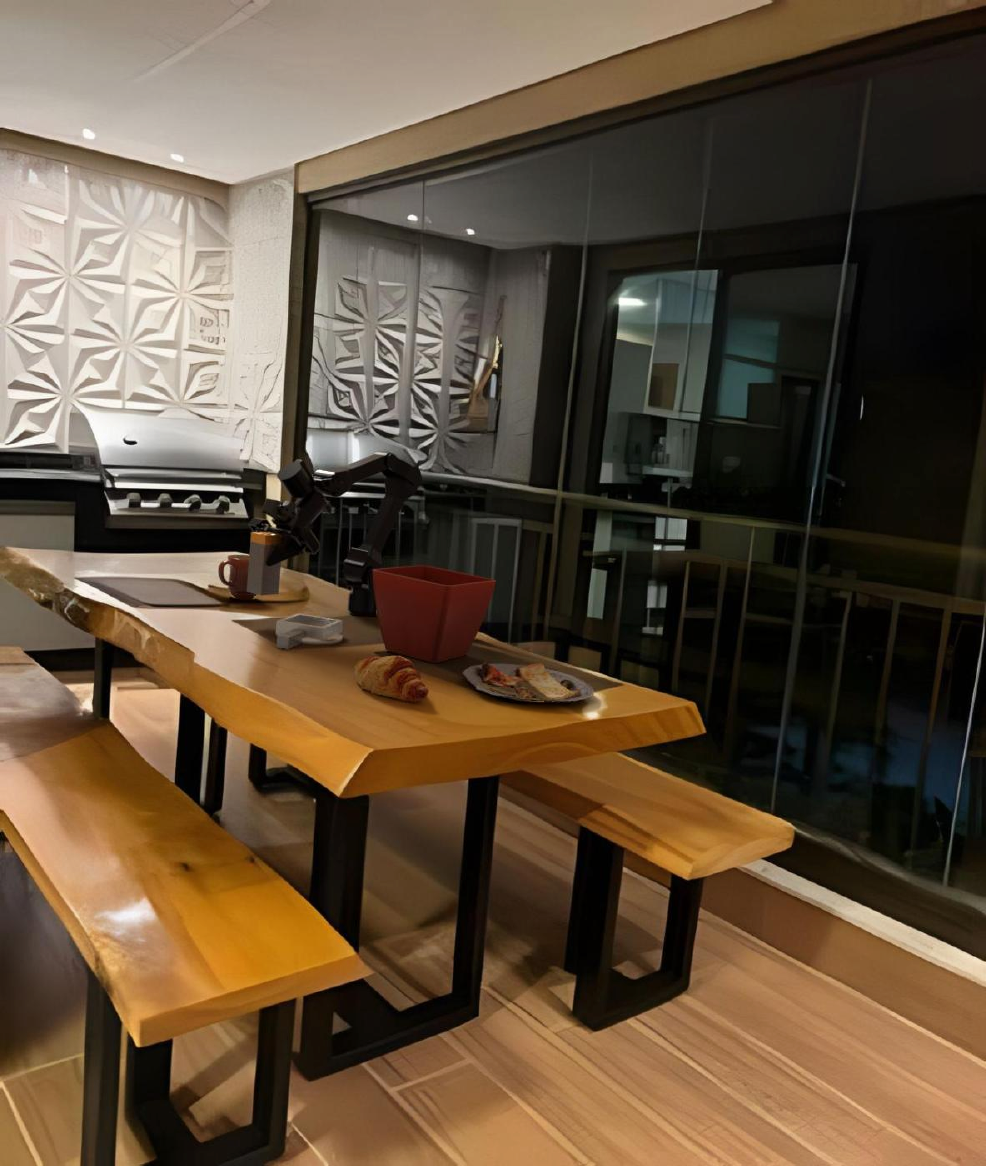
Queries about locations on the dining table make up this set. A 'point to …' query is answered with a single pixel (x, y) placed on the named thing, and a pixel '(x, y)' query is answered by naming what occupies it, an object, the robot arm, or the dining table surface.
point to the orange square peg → (263, 564)
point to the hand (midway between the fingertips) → (260, 563)
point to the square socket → (307, 630)
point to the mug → (237, 576)
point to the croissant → (391, 678)
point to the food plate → (529, 681)
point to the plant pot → (430, 610)
